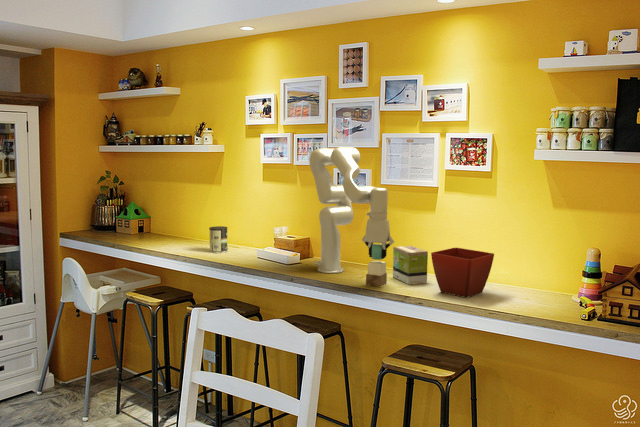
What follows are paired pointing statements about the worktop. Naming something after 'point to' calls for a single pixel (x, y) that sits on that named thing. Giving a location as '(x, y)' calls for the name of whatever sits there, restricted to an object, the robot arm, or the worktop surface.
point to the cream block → (376, 268)
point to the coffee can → (218, 239)
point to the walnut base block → (376, 279)
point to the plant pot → (462, 270)
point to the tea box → (410, 264)
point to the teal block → (377, 251)
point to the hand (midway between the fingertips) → (377, 257)
